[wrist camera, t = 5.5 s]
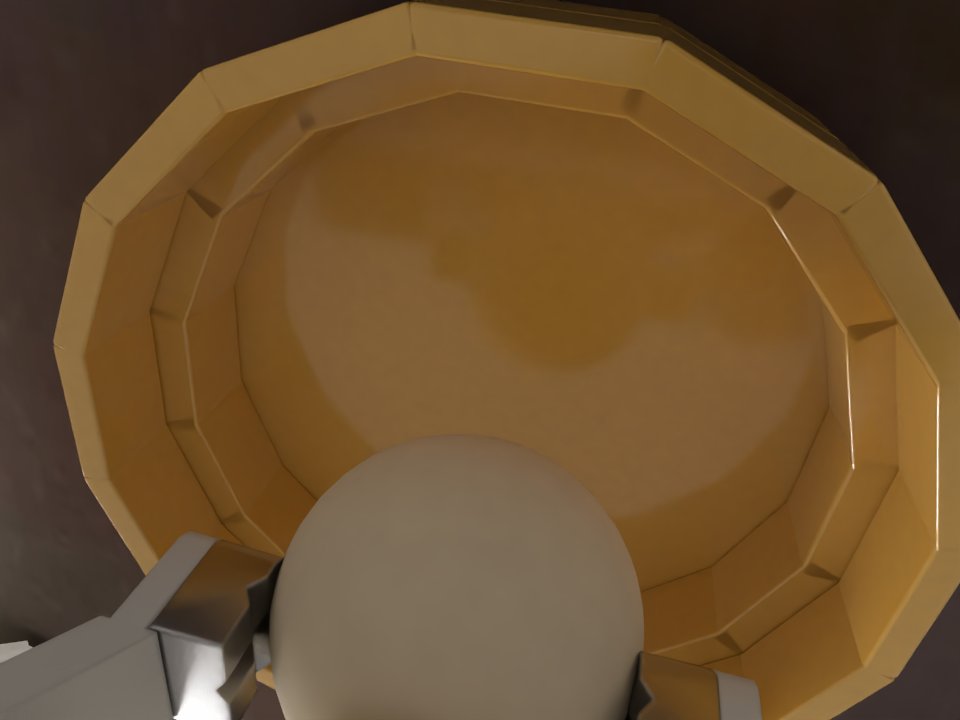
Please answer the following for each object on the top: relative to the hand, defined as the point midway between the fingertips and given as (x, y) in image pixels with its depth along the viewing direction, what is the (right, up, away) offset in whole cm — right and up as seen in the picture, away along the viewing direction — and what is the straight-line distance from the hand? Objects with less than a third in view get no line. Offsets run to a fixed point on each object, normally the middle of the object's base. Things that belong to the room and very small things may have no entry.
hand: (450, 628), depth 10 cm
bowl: (+1, +3, +6) cm, 7 cm away
